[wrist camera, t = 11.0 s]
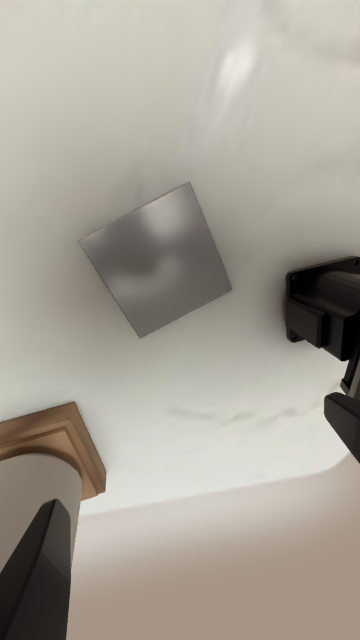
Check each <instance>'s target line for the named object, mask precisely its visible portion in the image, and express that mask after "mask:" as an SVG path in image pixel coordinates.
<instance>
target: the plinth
mask: <svg viewBox="0 0 360 640" xmlns="http://www.w3.org/2000/svg"><path fill="white" fill-rule="evenodd" d="M26 453H44V454H50V455H54V456H56V457H58V458H61V459H63V460H64V461H65V462H66V463H68V464H69V465H71V466H72V467H73V468H74V469H75V470H76V471H77V472H78V474H79V476H80V478H81V480H82V494H81V501H83V500H86V499H89V498H92V497H95V496H98V494H100V493H103V492H105V486H106V470H105V468H104V466H103V464H102V461H101V459H100V457H99V455H98V453H97V450H96V448H95V446H94V444H93V442H92V439H91V437H90V435H89V433H88V431H87V429H86V426H85V424H84V422H83V420H82V418H81V415H80V413H79V411H78V409H77V407H76V404H75V402H73V403H69V404H65V405H62V406H58V407H55V408H51V409H47V410H44V411H40V412H37V413H33V414H29V415H26V416H22V417H19V418H15V419H11V420H8V421H4V422H1V423H0V462H1V461H2V460H6V459H9V458H12V457H15V456H19V455H22V454H26Z"/></svg>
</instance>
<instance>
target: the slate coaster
mask: <svg viewBox="0 0 360 640" xmlns="http://www.w3.org/2000/svg"><path fill="white" fill-rule="evenodd" d="M78 242H79V244H80V245H81V247H82V249H83V250H84V252H85V253H86V255H87V256H88V258H89V260H90V261H91V263H92V264H93V266H94V267H95V269H96V271H97V272H98V274H99V275H100V277H101V278H102V280H103V282H104V283H105V285H106V286H107V288H108V289H109V291H110V293H111V294H112V296H113V297H114V299H115V300H116V302H117V304H118V305H119V307H120V308H121V310H122V311H123V313H124V314H125V316H126V318H127V319H128V321H129V322H130V324H131V325H132V327H133V329H134V330H135V332H136V333H137V335H138V336H139V338H142V337H144V336H146V335H148V334H149V333H151V332H153V331H155V330H157V329H159V328H161V327H163V326H165V325H166V324H168V323H170V322H172V321H174V320H176V319H178V318H180V317H182V316H183V315H185V314H187V313H189V312H191V311H193V310H195V309H197V308H199V307H200V306H202V305H204V304H206V303H208V302H210V301H212V300H214V299H216V298H217V297H219V296H221V295H223V294H225V293H227V292H229V291H231V290H233V289H232V287H231V284H230V282H229V279H228V277H227V274H226V272H225V269H224V266H223V264H222V261H221V259H220V256H219V254H218V251H217V249H216V246H215V244H214V241H213V239H212V236H211V234H210V231H209V229H208V226H207V224H206V221H205V219H204V216H203V213H202V211H201V208H200V206H199V203H198V201H197V198H196V196H195V193H194V191H193V188H192V186H191V183H190V182H189V183H186V184H184V185H183V186H181V187H179V188H177V189H175V190H173V191H171V192H169V193H167V194H166V195H164V196H162V197H160V198H158V199H156V200H154V201H152V202H150V203H149V204H147V205H145V206H143V207H141V208H139V209H137V210H135V211H133V212H132V213H130V214H128V215H126V216H124V217H122V218H120V219H118V220H116V221H115V222H113V223H111V224H109V225H107V226H105V227H103V228H101V229H100V230H98V231H96V232H94V233H92V234H90V235H88V236H86V237H84V238H83V239H81V240H79V241H78Z"/></svg>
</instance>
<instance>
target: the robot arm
mask: <svg viewBox="0 0 360 640" xmlns="http://www.w3.org/2000/svg"><path fill="white" fill-rule="evenodd" d="M354 261H355V263H354ZM294 275H295V278H294V279H293V280H292V278H293V276H294ZM286 326H287V338H288V340H289V341H291V342H293V343H294V342H298V341H302V340H307V341H308V342H310V343H311V344H312V345H314V346H315V347H317V348H323V349H325V350H326V351H328V352H329V353H330V354H332V355H333V356H335V357H336V358H338V359H339V360H341V361H347V360H349V363H348V366H347V369H346V373H345V376H344V378H343V379H342V380H341V384H340V386H341V388H342V390H343V391H344V393H345V394H346V395H344V394H341V393H338V392H334V393H331V394H329V395H326V396H325V398H324V415H325V417H326V419H327V421H328V422H329V423H330V425H331V426H332V428H333V429H334V430H335V432H336V433H337V434H338V436H339V437H340V438H341V440H342V441H343V442H344V444H345V445H346V446H347V448H348V449H349V450H350V452H351V453H352V454H353V456H354V457H355V458H356V459H357V461H358V462H359V463H360V257H357V256H351V257H347V258H343V259H339V260H335V261H331V262H327V263H323V264H319V265H315V266H311V267H307V268H303V269H298V270H294V271H291V272H290V273H289V274H288V275H287V299H286ZM294 335H295V336H294ZM293 336H294V337H293ZM292 337H293V338H292ZM70 585H71V519H70V514H69V512H68V511H67V509H66V508H65V507H64V505H63V504H62V502H61V501H60V500H59V499H57V498H55V499H52V500H50V501H47V502H45V503H43V504H42V505H41V507H40V508H39V510H38V512H37V513H36V515H35V516H34V518H33V520H32V521H31V523H30V525H29V526H28V528H27V530H26V531H25V533H24V534H23V536H22V538H21V539H20V541H19V543H18V544H17V546H16V548H15V549H14V551H13V552H12V554H11V556H10V557H9V559H8V561H7V562H6V564H5V566H4V567H3V569H2V570H1V572H0V640H66V633H67V622H68V610H69V598H70Z"/></svg>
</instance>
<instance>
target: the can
mask: <svg viewBox="0 0 360 640" xmlns="http://www.w3.org/2000/svg"><path fill="white" fill-rule="evenodd" d="M81 494H82V480H81V478H80V476H79V474H78V472H77V471H76V470H75V469H74V468H73V467H72V466H71V465H69V464H68V463H66V462H65V461H64V460H63V459H61V458H58V457H56V456H54V455H50V454H44V453H26V454H22V455H19V456H15V457H12V458H9V459H6V460H2V461H1V462H0V572H1V570H2V569H3V567H4V566H5V564H6V562H7V561H8V559H9V557H10V556H11V554H12V552H13V551H14V549H15V548H16V546H17V544H18V543H19V541H20V539H21V538H22V536H23V534H24V533H25V531H26V530H27V528H28V526H29V525H30V523H31V521H32V520H33V518H34V516H35V515H36V513H37V512H38V510H39V508H40V507H41V505H42V504H43V503H45V502H47V501H50V500H52V499H55V498H57V499H59V500H60V501H61V502H62V504H63V505H64V507H65V508H66V509H67V511H68V512H69V514H70V519H71V566H72V559H73V552H74V545H75V537H76V530H77V523H78V516H79V509H80V501H81Z"/></svg>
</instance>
